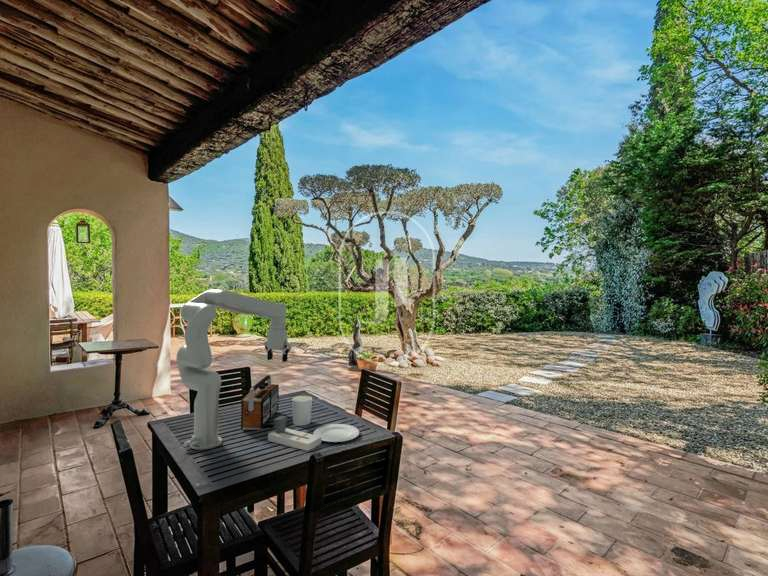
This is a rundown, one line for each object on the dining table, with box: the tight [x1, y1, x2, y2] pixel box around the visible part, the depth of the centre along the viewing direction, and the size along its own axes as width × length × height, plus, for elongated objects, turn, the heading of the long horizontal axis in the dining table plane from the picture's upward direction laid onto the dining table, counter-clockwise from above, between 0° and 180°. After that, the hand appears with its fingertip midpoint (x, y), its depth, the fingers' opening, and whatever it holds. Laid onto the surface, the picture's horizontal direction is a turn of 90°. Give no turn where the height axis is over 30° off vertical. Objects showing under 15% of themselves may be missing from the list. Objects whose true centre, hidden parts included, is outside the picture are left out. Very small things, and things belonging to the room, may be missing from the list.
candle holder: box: [291, 395, 313, 427], centre depth 198 cm, size 10×10×12 cm
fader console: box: [267, 427, 323, 452], centre depth 175 cm, size 9×22×3 cm, turn 63°
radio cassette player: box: [240, 374, 280, 431], centre depth 199 cm, size 29×10×20 cm, turn 179°
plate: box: [313, 423, 360, 444], centre depth 182 cm, size 21×21×2 cm
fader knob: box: [273, 415, 288, 433], centre depth 178 cm, size 5×3×6 cm, turn 153°
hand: (277, 360), depth 205 cm, fingers open, 9 cm apart
